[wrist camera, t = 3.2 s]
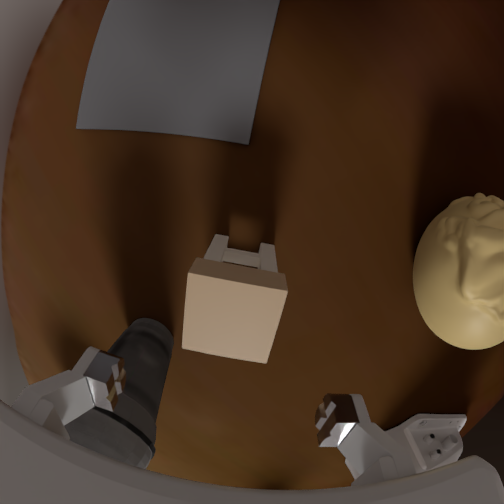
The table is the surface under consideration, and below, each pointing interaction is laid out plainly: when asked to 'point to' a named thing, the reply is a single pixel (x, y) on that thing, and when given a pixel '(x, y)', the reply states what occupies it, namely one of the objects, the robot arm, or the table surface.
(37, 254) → the table surface
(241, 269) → the stool
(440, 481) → the robot arm
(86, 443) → the beverage cup
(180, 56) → the mat
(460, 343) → the sculpture
